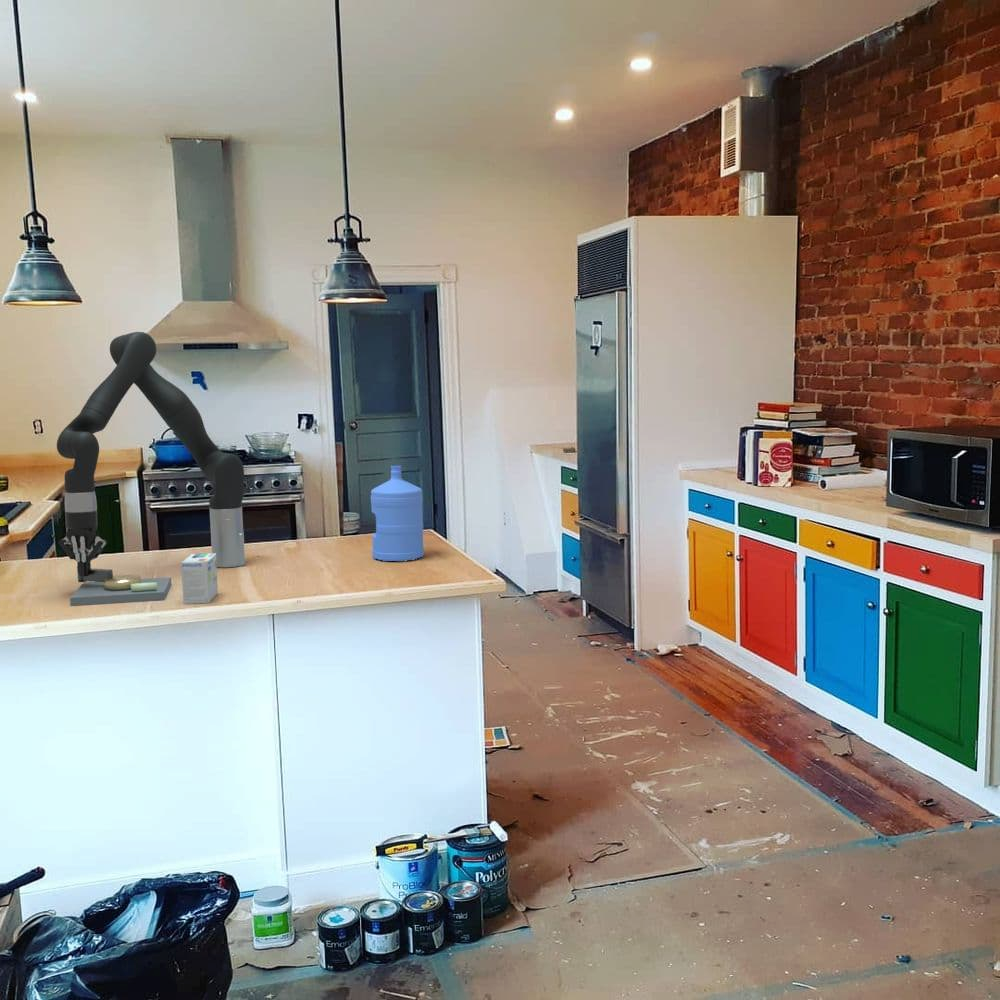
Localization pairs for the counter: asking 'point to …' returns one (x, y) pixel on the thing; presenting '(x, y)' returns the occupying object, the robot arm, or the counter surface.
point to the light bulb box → (199, 578)
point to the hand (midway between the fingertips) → (84, 575)
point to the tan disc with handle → (110, 579)
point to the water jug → (397, 519)
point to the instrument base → (121, 592)
